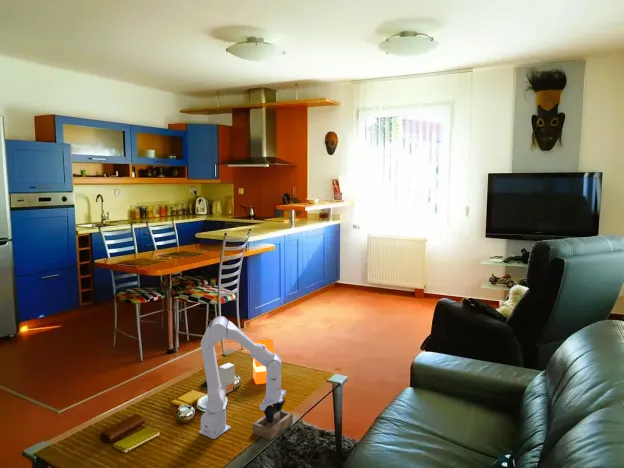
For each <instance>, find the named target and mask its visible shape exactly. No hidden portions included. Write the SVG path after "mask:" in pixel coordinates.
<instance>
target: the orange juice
mask: <svg viewBox="0 0 624 468" xmlns="http://www.w3.org/2000/svg"><path fill="white" fill-rule="evenodd" d="M253 342H254V343H255V344H256V343H260V344H261V345H263V344H264V345H265V346H266V349H268V350H269V351H270V352H271V353H274V354H275V349H274V348H275V347H274V338H267V339H258V340H257V339H256V340H254V341H253ZM252 371H253V372H252V378H253V381H254V383H255V385H259V384H260V385H261V384H266V375H267V371H266V367H265V366H263V365H262V364H260V363H259V362H258V361H257V360H255V359H254V358H253V357H252Z"/></svg>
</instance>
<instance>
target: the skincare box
mask: <svg viewBox="0 0 624 468" xmlns="http://www.w3.org/2000/svg"><path fill="white" fill-rule="evenodd" d="M235 367H236V365H235V364H233V363H230V362H227V363H224V364H222V365H220V366H218V371H219V378H220V382H221V383H222V387H223V389H224V390H225V392H226V394H228V393H230V392H232V391H234V390H233V387H234V388H235V373H236V372H235V369H236V368H235Z"/></svg>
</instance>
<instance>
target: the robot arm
mask: <svg viewBox="0 0 624 468" xmlns="http://www.w3.org/2000/svg"><path fill="white" fill-rule="evenodd" d="M223 339H224V340H225V341H231V340H234V341H235V342H237V343H238V344H240V345H241V346H242V347H243V348H245V349H246V350H248V351H249V355H250V357H251V358H252V359H253V358H254V359H255V360H257V361H258V362H259V363H260V364H262V365H263V366H265V367H266V371H267V375H266V383H265V397H264V399H263V400H262V402H261V403H260V404H259V410H260V411H262V412H263V413H264V415H265V416H266V420H267V422H268V423H272V421H273V414H274V411H275V408H274V406H276V409H278V410H280V413H281V410H283V406H284V405H285V402H286V398H284V397H285V396H286V395H287V390H286V389H285V390H284V389H282V375H281V374H282V373H281V372H282V359H281V357H280V356H279V354H277V353H275V352H274V353H271V352H270V351H269V350H268V349H266V346H265V345H264V344H263V345H261V344H260V343H256V344H255V343H254V342H255V341H253V340H252V339H251V338H249V336H247V335H246V333H244V332H243V331H242V330H241V329H239V328H238V327H237V325H235V324H234V323H233V322H232V321H230V320H228V319H227V318H226V317H225V316H222V315H221V316H216V317H215V318H213V320H211V321H210V323H209V325H208V326H207V328H206V331H205V332H204V335H203V336H202V339H201V340H200V350H201V355H202V361H203V367H204V373H205V379H206V385H207V395H206V396H207V401H206V404H205V405H206V410H205V412H203V414H202V415H200V430H199V431H198V433H199V434H201V435H203V436H206V437H208V438H210V439H212V440H216V439H217V438H218V437H220V436H221V435H223V434H224V433H226V432H227V431H228V430H230V429H232V428H231V426H230V425H228V424H227V405H226V403H225V397H226V395H227V393H226V392H225V390H224V389H223V387H222V383H221V382H220V378H219V365H218V359H217V353H216V346H215V345H216V344H217V343H219V342H220V341H222V340H223Z"/></svg>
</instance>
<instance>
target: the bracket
mask: <svg viewBox="0 0 624 468" xmlns="http://www.w3.org/2000/svg"><path fill="white" fill-rule="evenodd" d="M274 408H275V411H274V414H273V421H272V423H268V422H267V420H266V427H269V428H271V427H272V426H274V425H275V424H276V423H277V422H279V421H280V410H278V409H276V406H274Z"/></svg>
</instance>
